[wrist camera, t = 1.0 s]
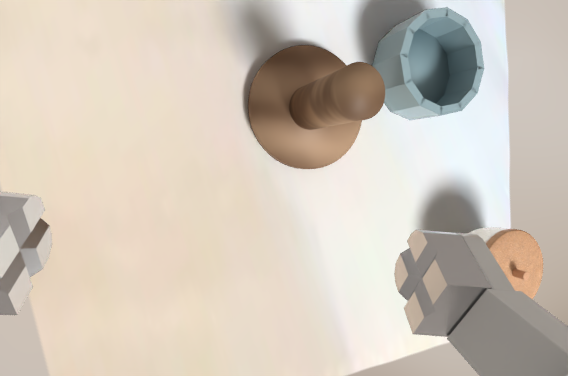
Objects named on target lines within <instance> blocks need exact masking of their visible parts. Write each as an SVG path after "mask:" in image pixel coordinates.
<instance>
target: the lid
mask: <svg viewBox="0 0 568 376" xmlns="http://www.w3.org/2000/svg"><path fill="white" fill-rule="evenodd" d="M384 100H385V85H384V81H383V79H382V77H381V75H380V73H379V72H378V71H377V70H376V69H375V68H374V67H373V66H371V65H369V64H367V63H364V62H355V63H352V64H350V65H347V66H346V65H345V63H344V62H343V61H341V60H340V59H339V58H338V57H337V56H335V55H334V54H332V53H331V52H329V51H327V50H325V49H322V48H320V47H315V46H309V45H298V46H293V47H289V48H286V49H284V50H282V51H280V52H278V53H276V54H275V55H274V56H272V57H271V58H270V59H269V60H267V61H266V62H265V63H264V64H263V66H262V67H261V68H260V69H259V71H258V72H257V74H256V76H255V78H254V80H253V82H252V85H251V88H250V92H249V98H248V114H249V120H250V124H251V127H252V130H253V132H254V134H255V137H256V138H257V140H258V142H259V143H260V145H261V146H262V147H263V149H264V150H265V151H266V152H267V153H268V154H269V155H270V156H272V157H273V158H274V159H276V160H277V161H279V162H281V163H282V164H285V165H287V166H290V167H294V168H300V169H316V168H321V167H324V166H327V165H330V164H332V163H334V162H335V161H337V160H338V159H340V158H341V157H342V156H343V155H344V154H346V152H347V151H348V150H349V149H350V148H351V146H352V145H353V143H354V142H355V139H356V137H357V135H358V133H359V130H360V126H361V122H362V120H366V119H369V118H371V117H373V116H375V115H376V114H377V113H378V112H379V111H380V109H381V108H382V106H383V103H384Z"/></svg>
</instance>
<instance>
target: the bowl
mask: <svg viewBox="0 0 568 376" xmlns="http://www.w3.org/2000/svg"><path fill="white" fill-rule="evenodd" d="M372 66H373V67H374V68H375V69H376V70H377V71H378V72H379V73H380V75H381V77H382V79H383V81H384V85H385V100H384V103H385V104H386V106H387V107H388V109H389V110H390V111H391V112H392V113H395V114H397V115H399V116H402V117H404V118H406V119H409V120H415V119H421V118H428V117H434V116H440V115H445V114H449V113H453V112H458V111H462V110H463V109H464V108H465V107H466V105H467V104H468V103H469V102H470V101H471V100H472V99H473V98H474V97H475V95H476V94H477V93H478V89H479V85H480V82H481V78H482V74H483V71H484V64H483V56H482V49H481V41H480V40H479V38H478V36H477V35H476V33H475V31H474V30H473V28H472V26H471V25H470V23H469V21H468V20H467V19H466V18H464V17H463V16H461V15H459V14H458V13H456V12H454V11H453V10H451V9H449V8H447V7H446V8H437V9H429V10H424V11H422V12H420V13H419V14H417V15H415V16H413V17H411V18H409V19H407V20H405V21H404V22H402V23H400V24H398V25H396V26H395V27H394V28H392V29H391V30H390V31H389V32H388V33H387V34H386V35H385V36H384V37H383V38H382V39H381V40H380V41H379V43H378V47H377V50H376V54H375V57H374V61H373V64H372Z"/></svg>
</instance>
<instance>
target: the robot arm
mask: <svg viewBox="0 0 568 376" xmlns="http://www.w3.org/2000/svg"><path fill="white" fill-rule="evenodd" d="M44 211H45V208H44V205H43V202H42V200H41V198H40V197H38V196H36V195H28V194H19V193H11V192H2V191H0V315H18V313H19V311H20V309H21V308H22V306H23V304H24V302H25V300H26V299H27V297H28V295H29V293H30V291H31V290H32V288H33V285H32V282H31V279H30V277H31V276H33V275H34V274H36V273H37V272H39V271H40V270H42V269H43V268H44V266H45V264H46V262H47V260H48V258H49V254H50V250H51V246H52V233H51V229H50V226H49V225H48V224H47V223H46V222H45V221H43V220H42V219H41V218H40V217H41V216H42V214H43V212H44ZM407 242H408V244H409V247H410V248H409V249H407V250H406V251H404V252H402V253H401V254H400V256H399V258H398V260H397V262H396V266H395V282H396V286H397V289H398V292H399V293H400V294H401V295H402V296H403V297H404V298H405V299H406V300H407V303H406V305H405V307H404V310H405V313H406V316H407V319H408V321H409V324H410V327H411V330H412V333H413V334H419V335H432V336H445V337H448V338H447V339H448V340H449V341H450V343H451V344H452V345H453V346H454V347H455V348H456V349H457V351H458V352H459V353H460V354H461V355H462V356H463V357H464V359H465V360H466V361H467V362H468V363H469V364H470V365H471V367H472V368H473V369H474V370H475V371H476V372H477V373H478V375H479V376H568V326H567V325H566V324H564V323H563V322H562V321H560V320H559V319H558V318H556V317H555V316H554V315H552V314H551V313H550V312H548V311H547V310H546V309H544V308H543V307H542V306H540V305H539V304H538V303H536V302H535V301H534V300H532V299H531V298H530V297H528V296H527V295H526V294H524V293H523V292H522V291H515V290H514V288H513V286H512V285H511V283H510V282H509V280H508V278H507V277H506V275H505V274H504V272H503V270H502V269H501V267H500V266H499V264H498V262H497V261H496V259H495V258H494V256H493V255H492V253H491V251H490V250H489V248H488V247H487V245H486V243H485V242H484V240H483V239H482V238H481V237H480V236H478V235H477V234H465V233H450V232H438V231H425V230H415V231H414V232H413V233H411V235H410V237H409V239H408V240H407Z"/></svg>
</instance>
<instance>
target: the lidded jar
mask: <svg viewBox="0 0 568 376" xmlns="http://www.w3.org/2000/svg"><path fill="white" fill-rule="evenodd" d="M467 234H477V235H478V236H480V237H481V238H482V239H483V240H484V242H485V243H486V245H487V247H488V248H489V250H490V251H491V253H492V255H493V256H494V258H495V259H496V261H497V262H498V264H499V266H500V267H501V269H502V270H503V272H504V274H505V275H506V277H507V278H508V280H509V282H510V283H511V285H512V286H513V288H514V290H515V291H522V292H523V293H524V294H526V295H527V296H528V297H530V298H531V299H533V298H534V296H535V295H536V293H537V291H538V288H539V286H540V283H541V279H542V273H543V258H542V253H541V250H540V247H539V246H538V243H537V242H536V241H535V239H534V238H533V237H532V236H531V235H530V234H528V233H527V232H525V231H522V230H517V229H505V228H497V227H488V228H480V229H476V230H473V231H471V232H469V233H467Z"/></svg>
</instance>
